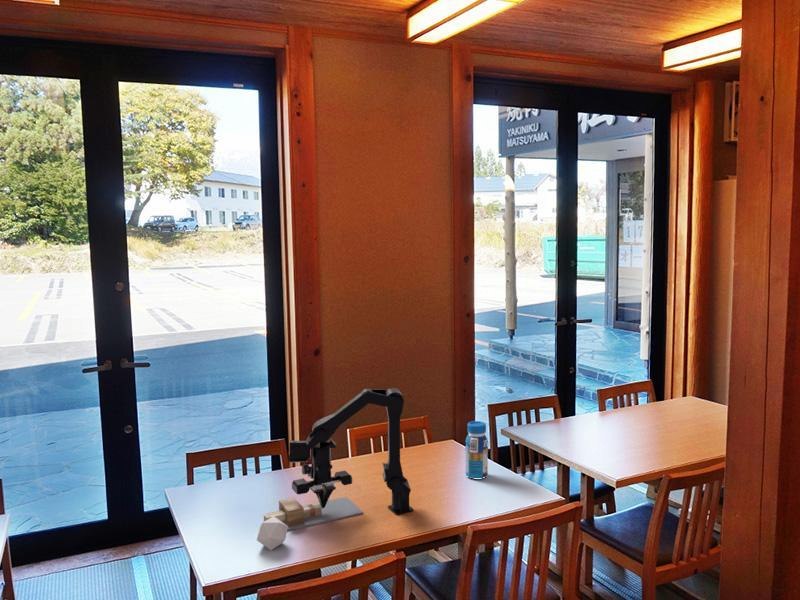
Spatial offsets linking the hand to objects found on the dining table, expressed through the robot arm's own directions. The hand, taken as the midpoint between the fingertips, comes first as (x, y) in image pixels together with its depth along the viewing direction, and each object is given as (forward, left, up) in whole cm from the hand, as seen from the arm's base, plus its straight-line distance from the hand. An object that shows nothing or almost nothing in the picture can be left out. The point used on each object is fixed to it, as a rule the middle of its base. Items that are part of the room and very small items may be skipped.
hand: (322, 507), depth 211 cm
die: (-13, +20, -2) cm, 24 cm away
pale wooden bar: (0, +10, -2) cm, 10 cm away
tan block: (0, +10, -2) cm, 11 cm away
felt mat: (+1, +2, -2) cm, 3 cm away
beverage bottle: (+3, -62, -2) cm, 62 cm away
